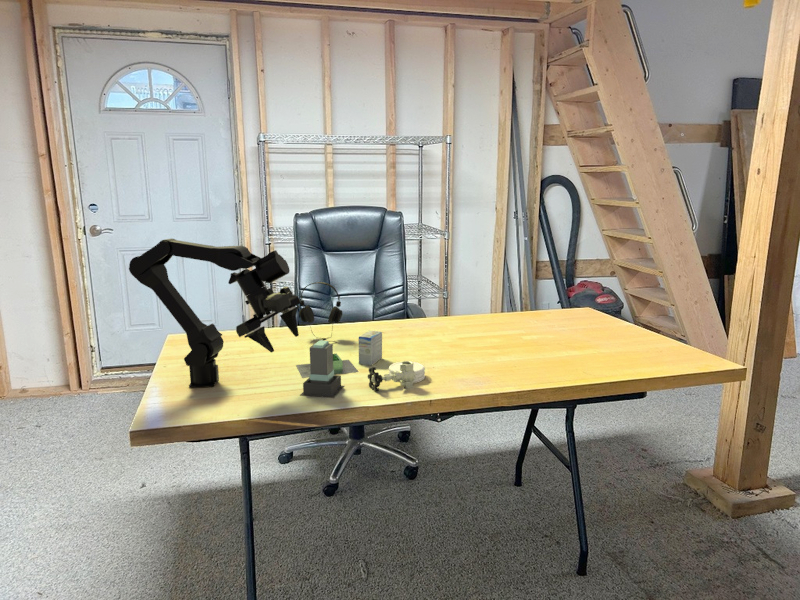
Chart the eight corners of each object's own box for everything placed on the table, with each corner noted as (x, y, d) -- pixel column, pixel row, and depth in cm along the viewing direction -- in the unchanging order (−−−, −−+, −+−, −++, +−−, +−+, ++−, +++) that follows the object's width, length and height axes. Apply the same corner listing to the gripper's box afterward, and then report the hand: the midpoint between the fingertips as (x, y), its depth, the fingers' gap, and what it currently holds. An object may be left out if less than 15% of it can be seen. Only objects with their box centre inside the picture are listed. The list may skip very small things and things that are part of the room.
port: (302, 380, 155) (301, 367, 154) (295, 367, 166) (295, 355, 165) (358, 373, 160) (358, 361, 159) (348, 361, 171) (348, 350, 170)
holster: (299, 397, 142) (299, 384, 141) (312, 385, 150) (312, 372, 150) (333, 400, 140) (333, 386, 139) (344, 387, 148) (344, 374, 148)
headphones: (293, 343, 190) (290, 285, 186) (303, 335, 201) (301, 280, 197) (336, 345, 188) (334, 286, 184) (344, 336, 199) (343, 281, 195)
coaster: (432, 378, 156) (432, 366, 156) (406, 387, 150) (406, 374, 149) (407, 370, 163) (407, 358, 163) (381, 378, 157) (381, 366, 156)
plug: (310, 393, 143) (308, 344, 141) (317, 386, 148) (315, 339, 145) (328, 394, 142) (326, 345, 140) (334, 387, 147) (333, 340, 144)
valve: (409, 381, 154) (367, 388, 149) (408, 358, 152) (367, 364, 148) (419, 389, 148) (376, 396, 143) (419, 365, 146) (376, 371, 142)
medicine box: (369, 357, 175) (369, 330, 174) (382, 358, 174) (382, 331, 172) (358, 364, 168) (357, 336, 167) (372, 366, 167) (371, 337, 165)
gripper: (245, 295, 133) (277, 353, 135) (298, 268, 147) (327, 320, 149) (221, 308, 140) (252, 363, 142) (274, 281, 154) (302, 331, 156)
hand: (285, 343), depth 147 cm, fingers open, 9 cm apart
